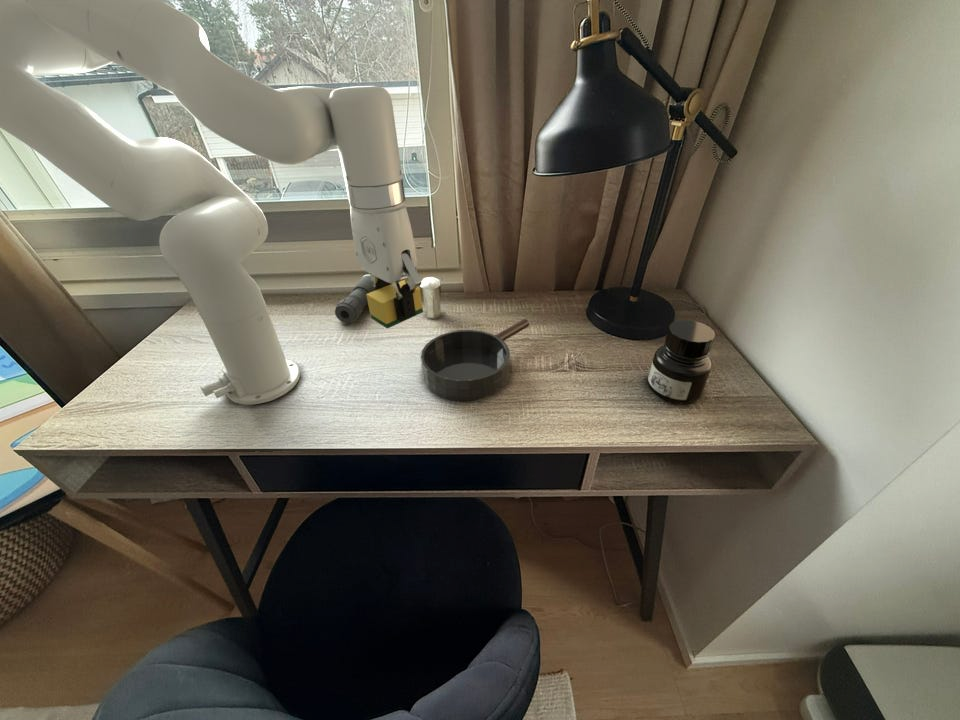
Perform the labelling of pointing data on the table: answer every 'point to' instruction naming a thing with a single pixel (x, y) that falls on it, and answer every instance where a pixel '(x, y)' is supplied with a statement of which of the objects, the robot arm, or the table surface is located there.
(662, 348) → the ink bottle
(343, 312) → the flashlight
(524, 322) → the pan handle
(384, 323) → the sponge
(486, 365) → the pan
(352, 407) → the table surface
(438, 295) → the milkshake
